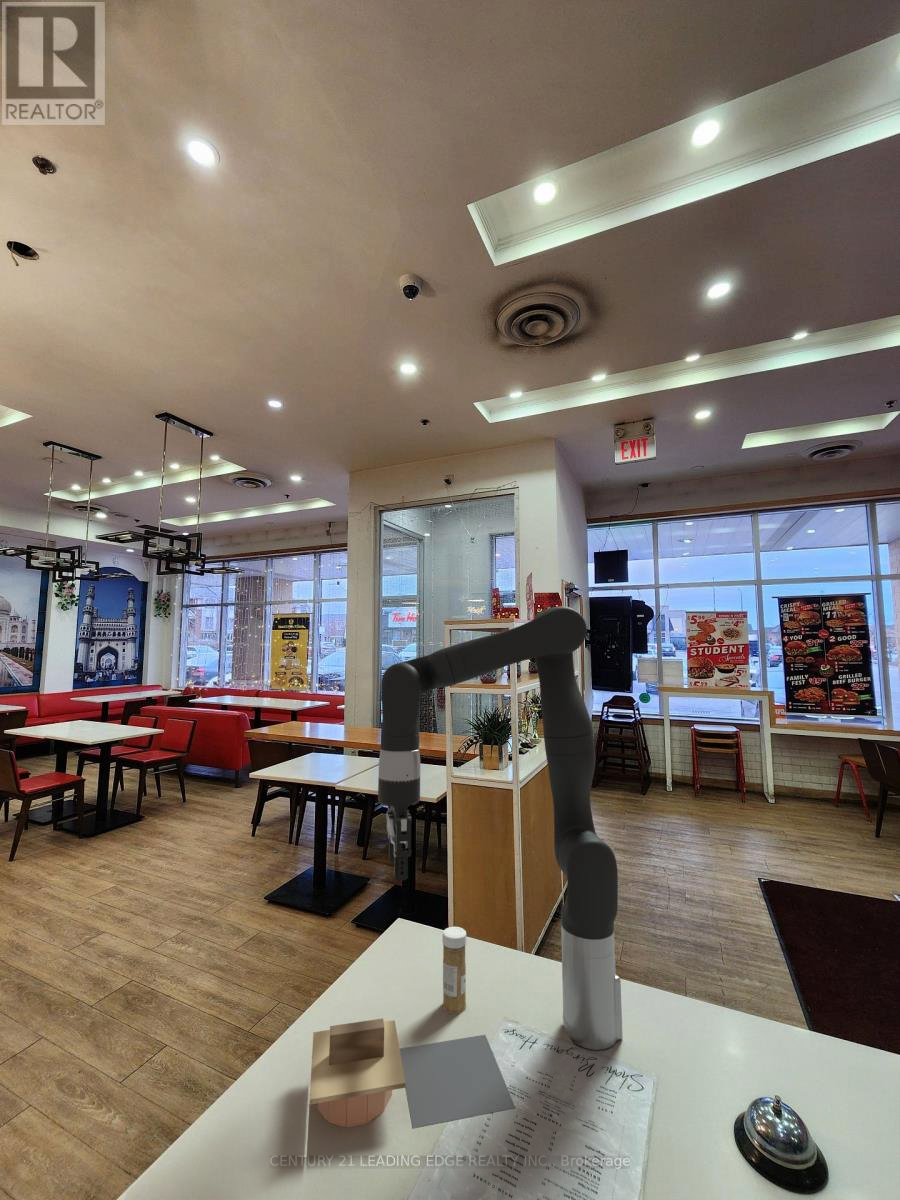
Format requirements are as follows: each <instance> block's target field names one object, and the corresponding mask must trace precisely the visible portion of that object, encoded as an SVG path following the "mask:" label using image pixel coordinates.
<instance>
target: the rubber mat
mask: <svg viewBox="0 0 900 1200" xmlns="http://www.w3.org/2000/svg"><path fill="white" fill-rule="evenodd" d="M399 1049H400V1054H401V1060H402V1066H403V1072H404V1078H405V1092H406V1098H407V1104H408V1109H409V1115H410V1121H411V1126H412V1129H417V1128H422V1127H423V1128H424V1127H426V1126H431V1125H432V1126H433V1125H437V1124H442V1123H448V1122H453V1121H457V1120H461V1119H462V1120H463V1119H469V1118H473V1117H478V1116H483V1115H487V1114H493V1113H497V1112H503V1111H509V1110H513V1109H516V1106H515V1103H514V1101H513V1099H512V1096H511V1094H510V1091H509V1089H508V1086H507V1084H506V1081H505V1080H504V1077H503V1074H502V1072H501V1070H500V1067H499V1065H498V1063H497V1060H496V1057H495V1054H494V1052H493V1051H492V1048H491V1045H490V1043H489V1040H488V1038H487V1036H486V1034H481V1035H476V1036H475V1035H474V1036H467V1037H462V1038H458V1039H457V1038H455V1039H450V1040H443V1041H437V1042H432V1043H424V1044H419V1045H413V1046H406V1047H401V1048H400V1047H399Z"/></svg>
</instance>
